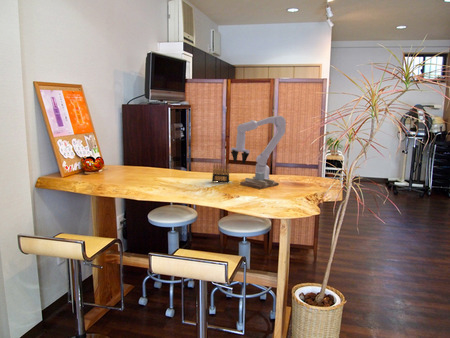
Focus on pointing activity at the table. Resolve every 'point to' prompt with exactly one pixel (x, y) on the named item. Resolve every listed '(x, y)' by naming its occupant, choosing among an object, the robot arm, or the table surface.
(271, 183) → the notched board
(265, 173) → the robot arm
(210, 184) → the table surface
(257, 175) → the tab block
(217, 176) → the ammunition clip
